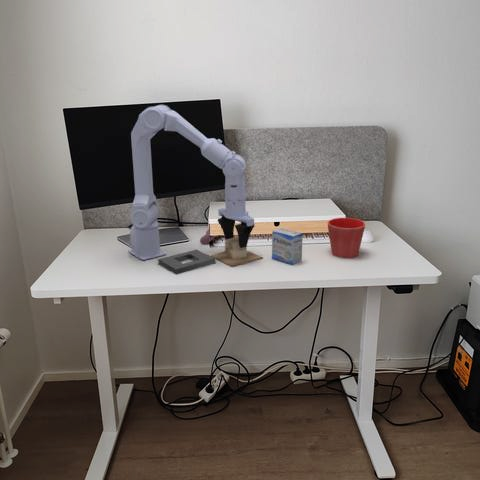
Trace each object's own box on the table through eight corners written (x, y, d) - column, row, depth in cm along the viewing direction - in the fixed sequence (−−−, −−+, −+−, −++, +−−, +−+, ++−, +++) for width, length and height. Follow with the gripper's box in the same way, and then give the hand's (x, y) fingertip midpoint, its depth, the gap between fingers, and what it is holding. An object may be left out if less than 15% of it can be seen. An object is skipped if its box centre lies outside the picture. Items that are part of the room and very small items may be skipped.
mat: (210, 256, 151) (210, 255, 151) (239, 248, 157) (239, 247, 157) (232, 267, 143) (232, 265, 143) (262, 258, 149) (262, 257, 149)
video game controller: (210, 249, 162) (220, 231, 159) (198, 243, 162) (207, 224, 159) (217, 239, 171) (226, 222, 168) (205, 233, 171) (214, 216, 168)
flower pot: (340, 262, 145) (342, 230, 142) (319, 250, 155) (320, 220, 151) (370, 256, 149) (373, 225, 146) (348, 245, 159) (350, 215, 156)
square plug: (225, 255, 150) (224, 239, 149) (237, 252, 153) (237, 236, 151) (234, 260, 147) (233, 243, 145) (246, 256, 149) (246, 240, 148)
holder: (158, 264, 146) (158, 259, 145) (196, 254, 153) (196, 249, 153) (176, 274, 138) (176, 269, 138) (215, 263, 146) (215, 258, 145)
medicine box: (271, 259, 148) (271, 230, 146) (280, 255, 152) (281, 227, 149) (292, 265, 143) (293, 236, 141) (302, 261, 146) (303, 232, 144)
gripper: (262, 201, 141) (262, 247, 145) (231, 192, 152) (232, 235, 156) (242, 205, 137) (243, 252, 141) (212, 195, 148) (213, 240, 152)
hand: (236, 244), depth 149 cm, fingers open, 6 cm apart
